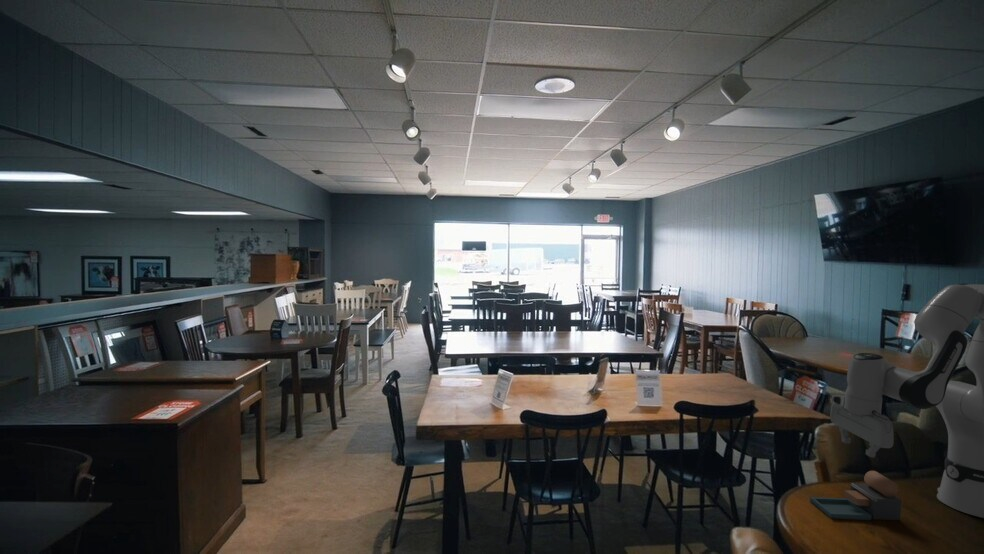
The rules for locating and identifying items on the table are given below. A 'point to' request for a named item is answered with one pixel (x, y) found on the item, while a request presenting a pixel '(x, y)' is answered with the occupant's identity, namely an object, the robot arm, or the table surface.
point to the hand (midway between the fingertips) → (857, 449)
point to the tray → (840, 508)
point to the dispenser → (880, 496)
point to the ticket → (857, 498)
